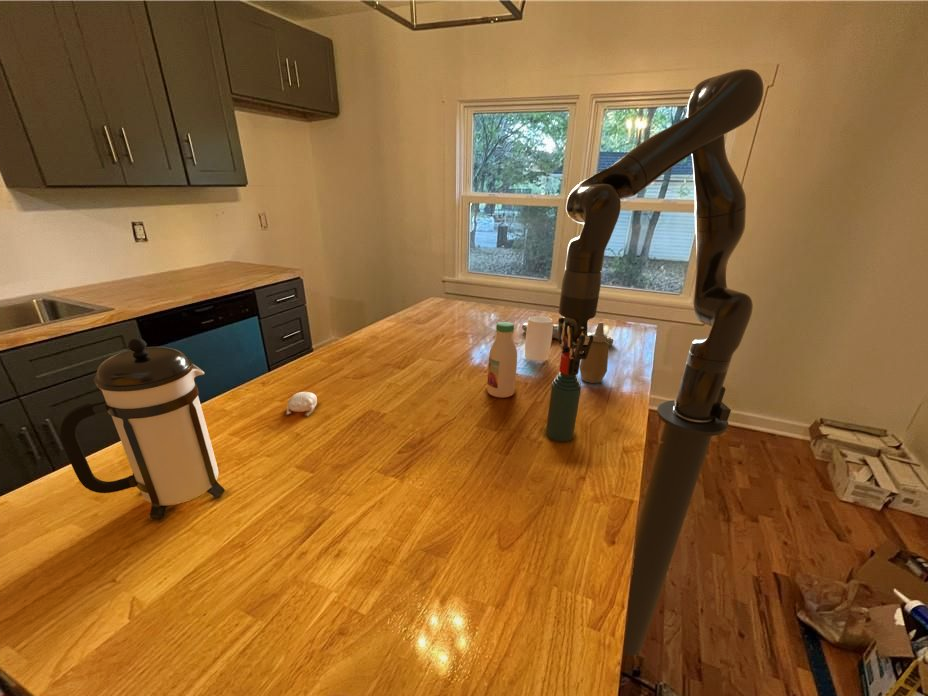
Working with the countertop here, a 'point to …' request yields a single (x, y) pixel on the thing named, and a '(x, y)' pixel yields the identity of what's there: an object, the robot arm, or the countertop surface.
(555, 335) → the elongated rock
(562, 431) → the water bottle
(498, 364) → the milk bottle
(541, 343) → the cup
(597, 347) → the squeeze bottle
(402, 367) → the countertop surface
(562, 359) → the cap
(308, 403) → the white turtle figurine
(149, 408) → the coffee press
